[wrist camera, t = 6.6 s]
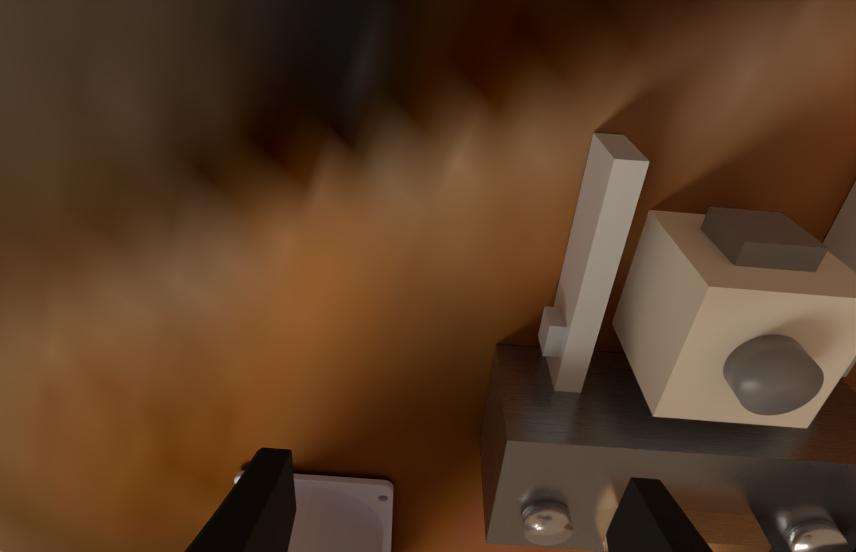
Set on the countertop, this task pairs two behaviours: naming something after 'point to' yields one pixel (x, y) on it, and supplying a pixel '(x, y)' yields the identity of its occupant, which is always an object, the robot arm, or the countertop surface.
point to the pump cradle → (619, 255)
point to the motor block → (656, 463)
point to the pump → (736, 317)
